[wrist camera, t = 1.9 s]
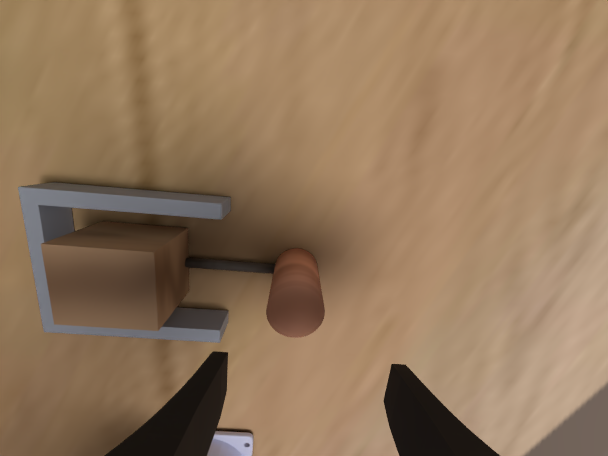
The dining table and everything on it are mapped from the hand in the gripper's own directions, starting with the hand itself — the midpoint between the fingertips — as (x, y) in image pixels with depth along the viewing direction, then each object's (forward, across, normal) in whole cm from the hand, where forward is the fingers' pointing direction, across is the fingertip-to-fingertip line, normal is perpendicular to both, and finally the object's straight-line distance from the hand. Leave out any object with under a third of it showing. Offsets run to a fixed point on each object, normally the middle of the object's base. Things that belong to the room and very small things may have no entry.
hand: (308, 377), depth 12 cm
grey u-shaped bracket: (+10, +11, -1) cm, 15 cm away
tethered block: (+10, +7, -1) cm, 12 cm away
